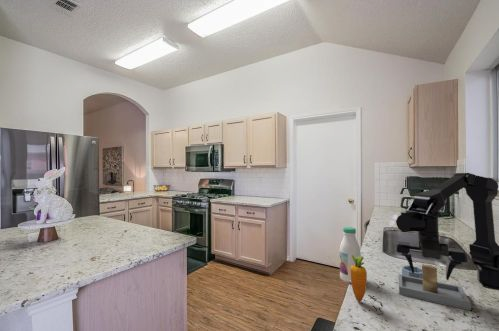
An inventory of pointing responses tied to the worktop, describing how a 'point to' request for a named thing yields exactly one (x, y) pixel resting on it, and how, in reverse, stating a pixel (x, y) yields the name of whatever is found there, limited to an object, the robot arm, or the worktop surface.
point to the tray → (445, 294)
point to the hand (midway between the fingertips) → (429, 276)
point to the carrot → (358, 278)
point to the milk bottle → (348, 252)
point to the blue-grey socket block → (408, 272)
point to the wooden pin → (429, 278)
